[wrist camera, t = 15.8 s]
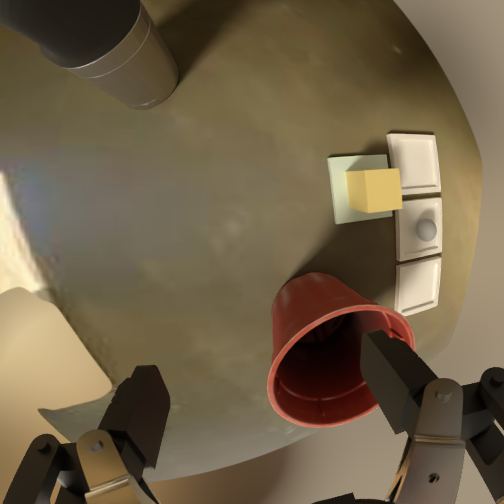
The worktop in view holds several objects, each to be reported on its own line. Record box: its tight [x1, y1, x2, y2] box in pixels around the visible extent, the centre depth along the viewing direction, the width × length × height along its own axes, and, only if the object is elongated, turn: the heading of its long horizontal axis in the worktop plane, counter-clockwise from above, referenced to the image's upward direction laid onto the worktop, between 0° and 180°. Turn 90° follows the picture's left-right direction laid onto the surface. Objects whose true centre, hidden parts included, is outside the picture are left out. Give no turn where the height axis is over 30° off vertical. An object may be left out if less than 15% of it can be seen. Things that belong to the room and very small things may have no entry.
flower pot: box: [267, 272, 415, 428], centre depth 33 cm, size 16×16×16 cm
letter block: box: [345, 168, 403, 213], centre depth 32 cm, size 5×5×6 cm
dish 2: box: [395, 197, 442, 261], centre depth 37 cm, size 9×9×1 cm
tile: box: [327, 155, 392, 224], centre depth 36 cm, size 9×9×1 cm
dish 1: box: [386, 134, 441, 195], centre depth 35 cm, size 9×9×1 cm
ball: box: [416, 219, 437, 242], centre depth 36 cm, size 4×4×4 cm
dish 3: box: [395, 256, 441, 317], centre depth 40 cm, size 9×9×1 cm
